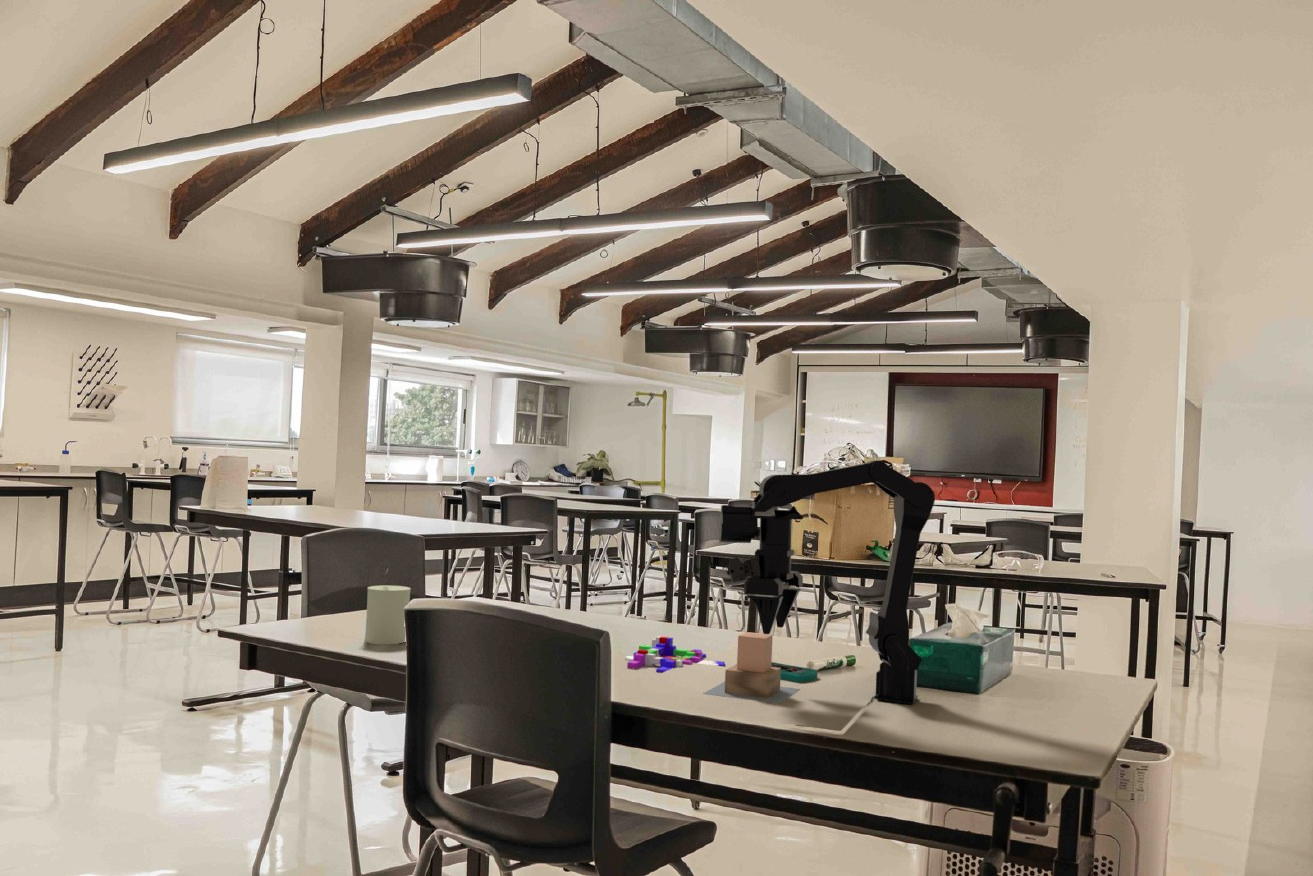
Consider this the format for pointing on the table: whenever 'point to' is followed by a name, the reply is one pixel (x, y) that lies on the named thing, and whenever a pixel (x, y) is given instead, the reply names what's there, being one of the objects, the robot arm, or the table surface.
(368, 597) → the can
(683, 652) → the building block set
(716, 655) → the table surface
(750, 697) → the grey flat square plate
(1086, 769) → the table surface
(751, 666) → the terracotta cube
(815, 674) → the digital multimeter
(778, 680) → the walnut base block
